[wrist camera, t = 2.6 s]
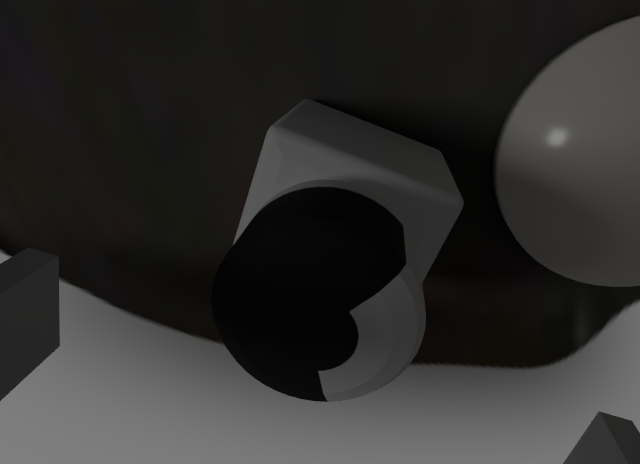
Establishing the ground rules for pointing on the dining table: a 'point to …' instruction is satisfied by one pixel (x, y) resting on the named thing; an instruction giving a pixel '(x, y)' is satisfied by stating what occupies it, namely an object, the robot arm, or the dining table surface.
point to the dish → (578, 159)
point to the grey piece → (333, 255)
